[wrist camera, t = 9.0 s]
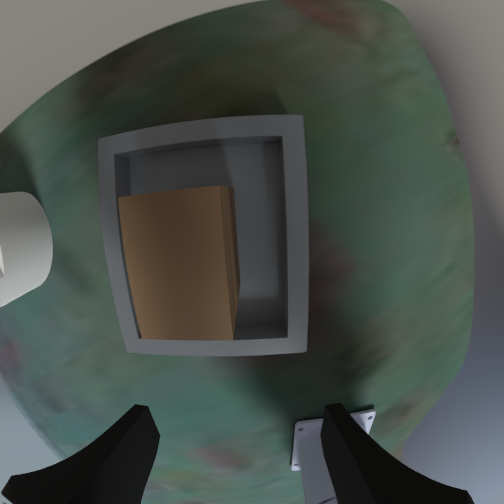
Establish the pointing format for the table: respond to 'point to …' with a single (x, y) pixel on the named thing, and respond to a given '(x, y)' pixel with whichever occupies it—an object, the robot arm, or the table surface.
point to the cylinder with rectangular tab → (22, 245)
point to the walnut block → (182, 262)
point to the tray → (247, 221)
